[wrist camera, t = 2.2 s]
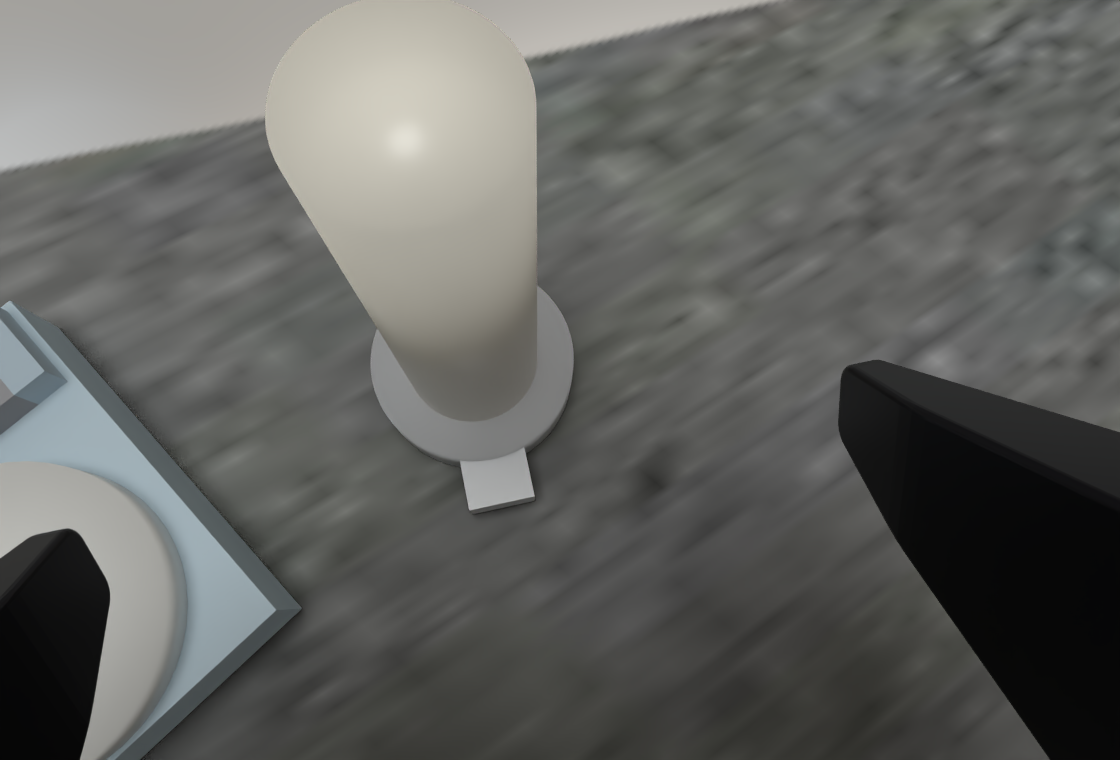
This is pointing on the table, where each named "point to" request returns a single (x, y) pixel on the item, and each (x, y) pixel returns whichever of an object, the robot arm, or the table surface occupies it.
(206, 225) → the table surface
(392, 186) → the crank handle
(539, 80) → the table surface
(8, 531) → the grey socket base
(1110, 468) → the robot arm
